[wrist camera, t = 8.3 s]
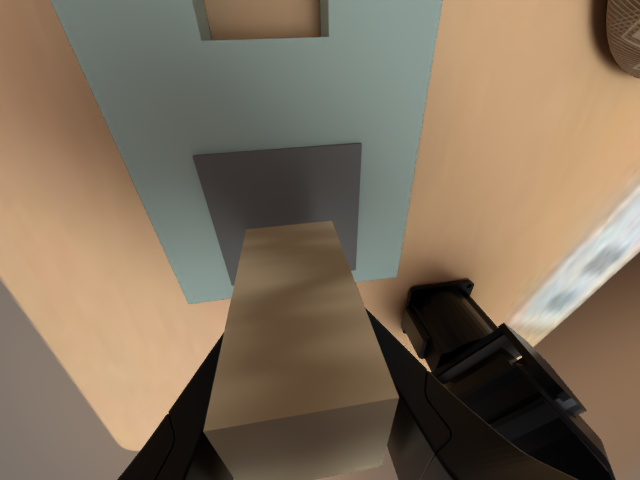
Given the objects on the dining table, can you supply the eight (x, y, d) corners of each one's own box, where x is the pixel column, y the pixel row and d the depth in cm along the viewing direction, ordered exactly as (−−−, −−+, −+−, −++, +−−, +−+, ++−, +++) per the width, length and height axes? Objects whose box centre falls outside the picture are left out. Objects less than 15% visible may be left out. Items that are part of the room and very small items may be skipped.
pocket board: (451, -263, 9) (509, -375, 7) (385, 258, 22) (398, 279, 20) (-39, -308, 8) (-173, -472, 5) (197, 281, 21) (187, 307, 18)
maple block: (331, 220, 12) (399, 397, 5) (332, 283, 14) (381, 466, 8) (245, 229, 12) (203, 431, 5) (260, 292, 14) (243, 493, 7)
